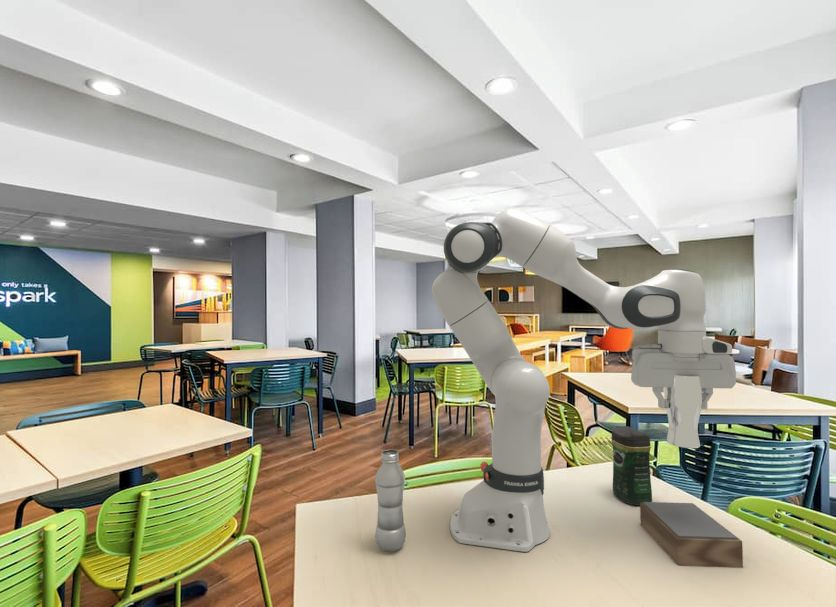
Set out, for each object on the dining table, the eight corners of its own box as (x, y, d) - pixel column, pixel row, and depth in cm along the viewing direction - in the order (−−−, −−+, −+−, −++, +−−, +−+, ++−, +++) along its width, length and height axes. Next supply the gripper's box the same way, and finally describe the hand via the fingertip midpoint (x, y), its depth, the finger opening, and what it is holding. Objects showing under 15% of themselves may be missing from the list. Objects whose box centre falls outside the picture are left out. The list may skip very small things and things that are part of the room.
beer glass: (709, 450, 85) (708, 377, 86) (671, 447, 87) (671, 375, 87) (693, 440, 92) (693, 372, 93) (659, 438, 94) (659, 371, 94)
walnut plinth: (678, 565, 81) (677, 537, 81) (640, 524, 97) (640, 500, 97) (743, 567, 80) (742, 539, 80) (694, 525, 96) (693, 502, 96)
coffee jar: (658, 506, 106) (656, 432, 107) (629, 507, 105) (627, 434, 106) (634, 490, 116) (633, 423, 117) (607, 491, 115) (606, 424, 116)
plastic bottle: (409, 540, 91) (409, 448, 91) (400, 558, 84) (399, 458, 85) (382, 536, 93) (381, 446, 93) (370, 553, 86) (370, 456, 87)
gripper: (638, 344, 88) (639, 410, 87) (740, 345, 86) (741, 412, 86) (625, 342, 94) (626, 404, 94) (720, 343, 93) (721, 406, 92)
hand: (682, 408), depth 90 cm, fingers closed on beer glass, 6 cm apart
